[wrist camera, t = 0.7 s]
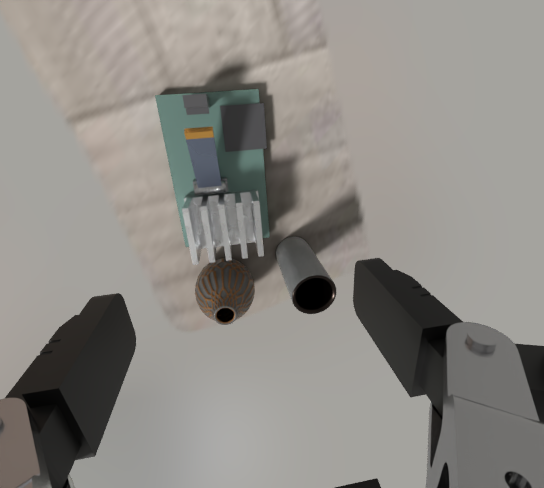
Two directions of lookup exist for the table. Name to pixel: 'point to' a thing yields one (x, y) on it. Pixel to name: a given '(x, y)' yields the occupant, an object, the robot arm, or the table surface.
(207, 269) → the vase
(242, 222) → the heatsink
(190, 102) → the block
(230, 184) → the board
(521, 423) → the robot arm
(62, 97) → the table surface
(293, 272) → the planter
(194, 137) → the blue-grey flat piece
